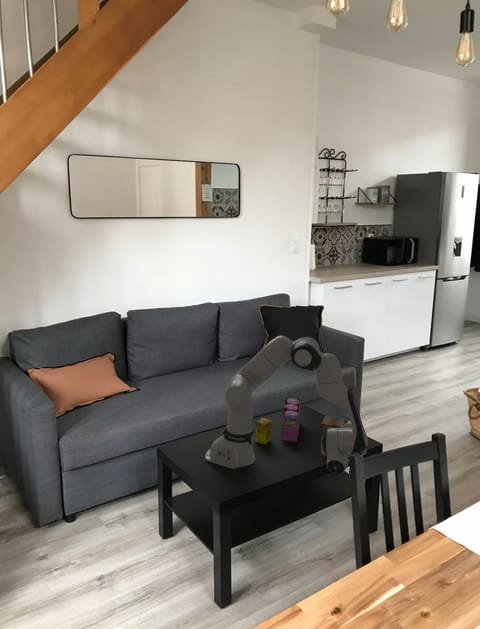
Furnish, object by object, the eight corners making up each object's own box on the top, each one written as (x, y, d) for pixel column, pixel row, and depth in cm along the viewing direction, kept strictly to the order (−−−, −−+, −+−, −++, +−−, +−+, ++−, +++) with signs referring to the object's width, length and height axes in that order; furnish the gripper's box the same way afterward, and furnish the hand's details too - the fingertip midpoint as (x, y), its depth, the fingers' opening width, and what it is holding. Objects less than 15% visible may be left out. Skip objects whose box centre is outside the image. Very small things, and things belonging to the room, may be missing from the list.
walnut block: (320, 438, 250) (321, 423, 248) (324, 430, 259) (325, 415, 257) (341, 442, 246) (342, 426, 245) (344, 433, 256) (345, 418, 254)
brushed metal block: (339, 450, 237) (340, 426, 235) (340, 446, 242) (342, 422, 239) (350, 452, 236) (351, 428, 233) (351, 448, 240) (353, 424, 238)
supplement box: (265, 446, 241) (266, 424, 238) (254, 443, 244) (255, 421, 241) (271, 441, 246) (272, 420, 243) (260, 438, 249) (261, 417, 246)
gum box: (284, 420, 270) (285, 396, 267) (299, 421, 269) (300, 397, 266) (281, 440, 247) (282, 414, 244) (297, 442, 246) (298, 415, 243)
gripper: (366, 448, 219) (369, 435, 232) (318, 440, 226) (324, 428, 239) (365, 461, 221) (368, 447, 233) (318, 453, 227) (324, 440, 240)
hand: (346, 437), depth 236 cm, fingers open, 8 cm apart
